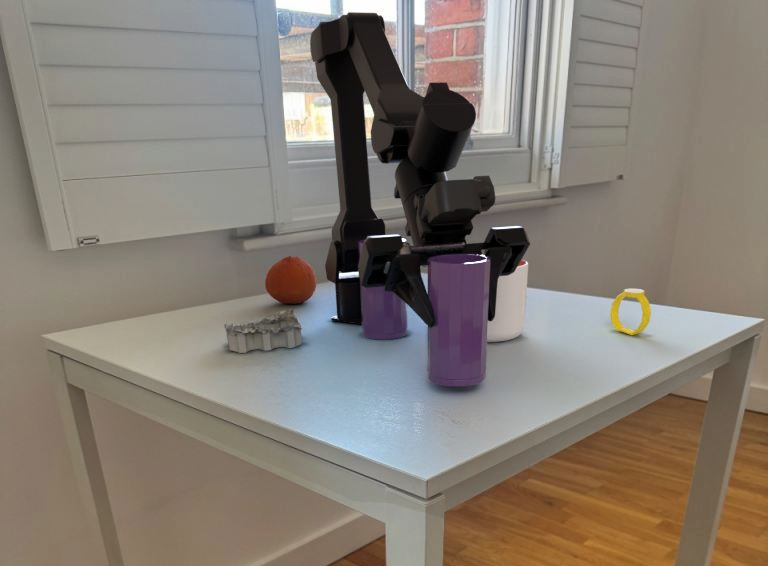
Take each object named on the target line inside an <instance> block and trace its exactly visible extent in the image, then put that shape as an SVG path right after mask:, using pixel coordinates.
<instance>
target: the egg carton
mask: <svg viewBox="0 0 768 566" xmlns="http://www.w3.org/2000/svg"><path fill="white" fill-rule="evenodd" d="M224 329H225V332H226V339H227V340H226V341H227V345H228V348H229V351H231V352H235V353H239V354H246V353H248V352H250V351H254V350H260V351H261V350H262V351H265V352H268V351H271V350H273V349H275V348H287V349H294V348H296V347H298V346H302V344H303V338H302V329H303V327H302V325H301V323H300V322H299V320H298V317H297V315H296V312H294V309H293V308H292V309H284V310H279V311H277V312H273V314H272V316H271V317H262V318H261V319H259V320H256V321H251V320H250V321H247V322H241V323H240V324H235V325H233V323H231V324H227V323H224Z"/></svg>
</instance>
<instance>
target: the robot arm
mask: <svg viewBox="0 0 768 566" xmlns="http://www.w3.org/2000/svg"><path fill="white" fill-rule="evenodd" d="M309 39H310V41H309V44H310V45H309V46H310V47H309V48H310V56H311V60H312V62H313V63H314V64H315V65H314V66H315V72H316V73H315V74H316V78H317V81H318V83H319V84H320V85H321V87H322V88H323V90H324V91H325V93H326V95H327V96H328V98H329V101H330V107H331V120H332V132H333V142H334V155H335V164H336V176H337V187H338V199H339V213H338V215H337V217H336V219H335V220H334V223H333V225H332V228H331V241H330V244H329V248H328V252H327V256H326V260H325V265H324V267H325V268H324V269H325V274H326V280H328V281H329V282H331V283H333V284H334V289H335V301H336V303H335V305H336V315H334V316H332V317H330V318H331V319H330V320H331V321H333V322H341V323H347V324H348V323H349V324H354V325H355V324H357V325H362V318H361V295H360V281H361V285H362V286H363V287H365V288H371V287H384V290H385V291H386V292H393V293H394V294H396V295H397V296H398V297H399V298H400V299H402V300H403V301H404V302H405V303H406V304H407V307H409V308H410V309H411V310H412V311H413V312H414V313H415V314H416V315H417V316H418V317H419V318H420V319H421V320H422V321H423V322H424V323H425V325H426V326H427V328H428V327H433V326H434V324H435V319H434V314H433V309H432V306H431V303H430V300H429V297H428V290H427V288H426V285H425V283H424V280H423V277H422V271H421V270H422V269H421V267H422V268H428V259H429V258H430V257H433V256H437V255H444V254H478V255H485V256H488V257H490V258H491V270H490V293H489V315H488V321H493V319H494V317H495V310H496V296H497V283H498V278H499V276H508V275H510V274H512V273H514V271H515V270H516V268H517V266H518V265H519V263H520V261H521V260H523V258H524V256H525V254H526V252H527V250H528V249H529V247H530V245H531V241H530V239H529V236H528V232H527V230H526V229H525V228H524V227H523V226H520V225H514V226H513V225H512V226H500V227H498V226H497V227H490V229H489V230H488V233H487V234H486V237H485V238H484V241H483V242H472V243H467V240H466V237H467V236H471V234H472V231H473V229H474V225H473V222H472V220H474V219H475V217H476V216H477V215H480V214H482V213H484V212H488V211H489V210H490V209H491V208H492V207H493V206H494V205H495V204H496V192H495V186H494V184H493V181H492V179H491V176H490V175H475V176H473V178H466V179H448V176H447V173H446V172H450V171H452V170H453V169H455V168H456V167H457V165H458V162H459V161H460V158H461V155H462V153H463V151H464V148H465V147H466V144H467V141H468V139H469V137H470V134H471V131H472V129H473V126H474V124H475V123H476V119H477V113H476V112H477V111H476V109H475V105H474V104H473V103H471V102H470V101H469V100H468V99H467V98H466V97H465V96H463V95H462V94H460V93H459V92H457V91H454V90H451V89H450V87H449V85H448V82H445V81H444V82H439V81H438V82H429V83H428V86H427V89H426V93H425V95H424V96H422V95H421V94H419V93H418V92H416V91H414V90H413V89H411V88H410V86H409V85H408V83H407V81H406V80H407V79H406V78H405V76H404V73H403V72H402V69H401V67H400V64H399V62H398V60H397V57H396V55H395V53H394V51H393V48H392V46H391V43H390V41H389V39H388V36H387V34H386V23H385V20H384V17H383V15H382V14H381V15H378V13H377V12H359V11H358V12H354V11H353V12H352V11H349V12H348V13H346V14H342V15H341V16H340V17H339V18H336V19H333V20H330V21H320V22H319V24H318V25H317V26H316V27H315V28H314V30H313V31H312V32H311V34H310V38H309ZM364 95H366V97H367V99H368V102H369V105H370V107H371V110H372V113H373V119H372V124H371V128H370V129H371V130H370V143H371V147H372V150H373V152H374V154H375V155H376V156H377V159H378V161H379V162H380V163H381V164H386V165H387V164H388V165H389V164H398V165H397V167H396V169H395V171H394V180H395V186H394V189H393V197H394V199H398V200H399V199H400V202H401V205H402V208H403V212H404V216H405V220H406V223H405V227H404V232H405V235H406V237H410V238H411V242H412V245H411V244H410V243H409V242H406V243H403V240H402V239H403V238H402V235H401V234H386V223H385V222H384V220H383V218H381V217H379V216H378V215H377V213H376V212H375V210H374V209H373V206H372V195H371V194H372V193H371V181H370V180H371V179H370V167H369V153H368V152H369V151H368V140H367V127H366V115H365V114H366V112H365V100H364V99H365V97H364ZM364 239H366V240H365V241H364V243H363V247H362V251H361V256H360V260H359V251H358V241H360V240H364Z"/></svg>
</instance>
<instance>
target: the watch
mask: <svg viewBox="0 0 768 566" xmlns="http://www.w3.org/2000/svg"><path fill="white" fill-rule="evenodd" d="M645 293H646V292H645V290H644V289H641V288H635V287H634V288H633V287H632V288H625V289H623V292H622V293H620V294H618V295H617V296H616V297H615V299H614V300H613V301H612V304H611V308H610V312H609V314H610V321H611V324H612V326H613V327H614V330H615V331H618V332H620V333H624V334H627V335H630V336H636V335H638V334H640V333H642V332H643V331H645V330H646V328H647V327H648V325H649V324H650V321H651V314H652V309H651V305H650V302H649V299H648V298H647V297H646V296H645ZM626 297H627V298H633V299H636V300H637V301H638V303H640V306H641V311H642V317H641V322H640V323H639V326H638V327H637V329H635V330H634V329H631V328H628V327H625V326H624V325H623V324H622V322H621V321H620V315H619V310H620V305H621V303H622V302H623V300H624V299H625V298H626Z"/></svg>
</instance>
